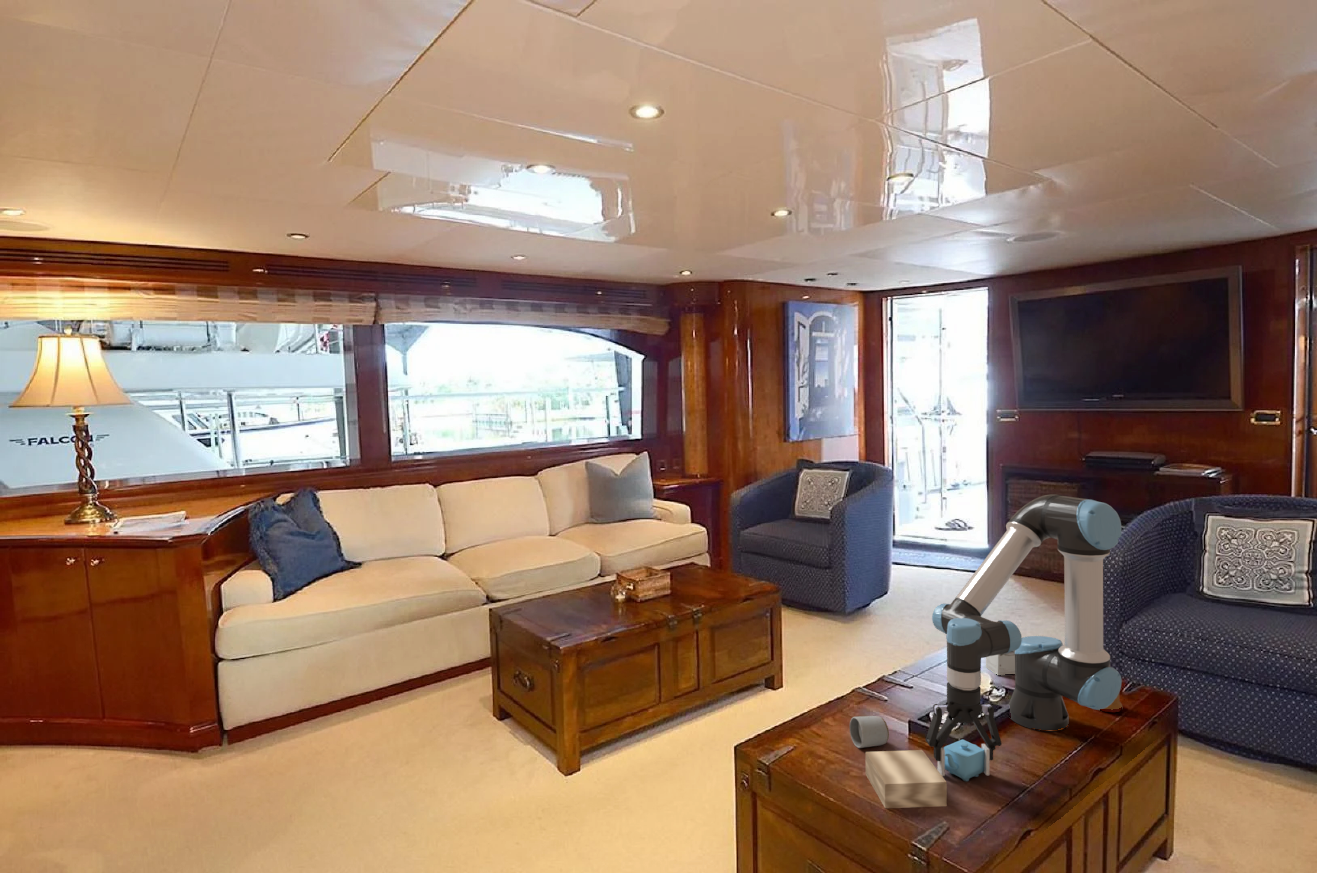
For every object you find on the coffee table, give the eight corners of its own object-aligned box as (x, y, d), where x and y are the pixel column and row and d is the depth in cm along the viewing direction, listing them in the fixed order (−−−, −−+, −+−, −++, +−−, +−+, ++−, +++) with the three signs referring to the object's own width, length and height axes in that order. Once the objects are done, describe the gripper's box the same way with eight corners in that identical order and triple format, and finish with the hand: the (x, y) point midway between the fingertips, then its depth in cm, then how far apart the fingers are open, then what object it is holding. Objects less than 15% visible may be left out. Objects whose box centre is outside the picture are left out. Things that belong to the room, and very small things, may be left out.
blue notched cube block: (955, 788, 166) (956, 757, 165) (934, 776, 171) (934, 746, 171) (988, 773, 172) (988, 743, 171) (966, 762, 177) (966, 733, 176)
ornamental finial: (1096, 713, 201) (1088, 701, 208) (1126, 715, 199) (1116, 703, 206) (1097, 686, 201) (1088, 675, 208) (1127, 688, 199) (1117, 677, 206)
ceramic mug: (891, 749, 184) (890, 720, 184) (862, 753, 182) (862, 724, 182) (870, 731, 194) (870, 703, 194) (843, 734, 193) (842, 707, 192)
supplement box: (997, 676, 227) (998, 638, 226) (985, 667, 234) (985, 630, 234) (1019, 675, 228) (1020, 637, 227) (1006, 666, 235) (1006, 629, 234)
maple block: (922, 773, 173) (922, 750, 173) (946, 807, 159) (946, 782, 159) (865, 775, 173) (865, 752, 172) (885, 809, 159) (885, 784, 158)
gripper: (1003, 676, 173) (1003, 763, 175) (911, 678, 174) (911, 764, 175) (1018, 690, 166) (1017, 780, 167) (921, 691, 166) (921, 781, 168)
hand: (963, 772), depth 171 cm, fingers closed on blue notched cube block, 10 cm apart
